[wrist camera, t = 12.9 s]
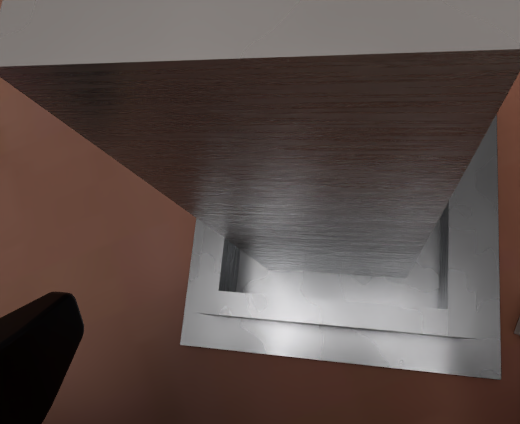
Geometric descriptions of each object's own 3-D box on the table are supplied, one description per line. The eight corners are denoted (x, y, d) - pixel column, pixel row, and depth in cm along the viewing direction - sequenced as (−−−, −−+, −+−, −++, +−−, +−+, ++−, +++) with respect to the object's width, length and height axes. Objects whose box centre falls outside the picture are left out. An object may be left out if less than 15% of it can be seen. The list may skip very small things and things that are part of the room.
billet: (406, 278, 16) (531, 49, 3) (267, 269, 17) (-15, 67, 4) (409, 145, 17) (514, -392, 5) (278, 144, 18) (75, -296, 6)
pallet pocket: (497, 378, 15) (520, 385, 13) (184, 344, 17) (155, 344, 15) (493, 76, 17) (511, 36, 15) (217, 82, 19) (197, 47, 17)
